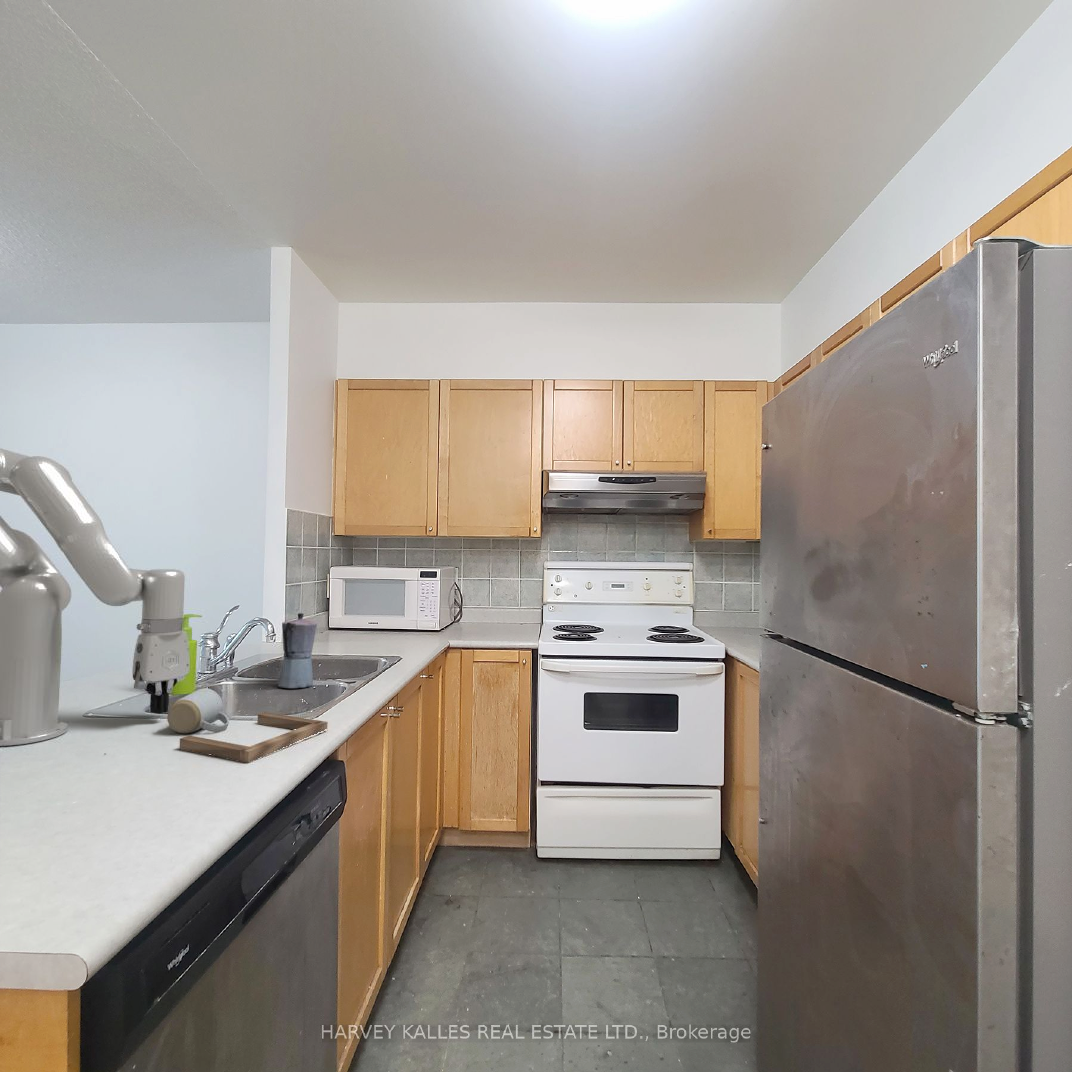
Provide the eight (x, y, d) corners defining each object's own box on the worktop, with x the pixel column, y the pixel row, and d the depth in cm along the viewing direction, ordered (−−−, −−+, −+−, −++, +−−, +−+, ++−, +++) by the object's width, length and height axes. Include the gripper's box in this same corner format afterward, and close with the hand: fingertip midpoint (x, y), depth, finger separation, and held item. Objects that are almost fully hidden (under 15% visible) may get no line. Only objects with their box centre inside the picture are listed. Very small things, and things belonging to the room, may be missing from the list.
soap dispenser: (203, 690, 152) (206, 614, 153) (176, 696, 146) (179, 616, 147) (191, 687, 155) (194, 612, 156) (163, 692, 149) (167, 615, 150)
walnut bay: (248, 763, 102) (248, 751, 102) (179, 749, 108) (179, 738, 108) (327, 731, 120) (327, 721, 120) (264, 721, 126) (265, 712, 126)
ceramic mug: (162, 734, 116) (165, 696, 116) (188, 723, 124) (190, 686, 124) (215, 737, 116) (217, 698, 116) (236, 725, 124) (238, 689, 124)
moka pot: (322, 680, 167) (325, 611, 168) (303, 693, 151) (305, 617, 152) (289, 680, 167) (291, 610, 167) (266, 693, 151) (268, 616, 152)
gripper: (140, 631, 116) (136, 723, 116) (206, 623, 130) (202, 705, 130) (114, 629, 119) (111, 719, 119) (182, 621, 133) (179, 702, 133)
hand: (159, 712), depth 124 cm, fingers closed
